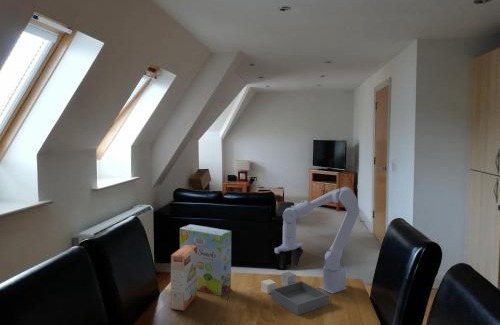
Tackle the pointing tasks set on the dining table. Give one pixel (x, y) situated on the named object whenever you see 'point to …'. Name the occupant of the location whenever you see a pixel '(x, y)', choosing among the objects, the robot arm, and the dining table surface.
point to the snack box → (210, 257)
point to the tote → (299, 297)
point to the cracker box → (183, 277)
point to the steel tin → (288, 278)
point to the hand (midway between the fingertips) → (288, 266)
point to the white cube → (267, 286)
